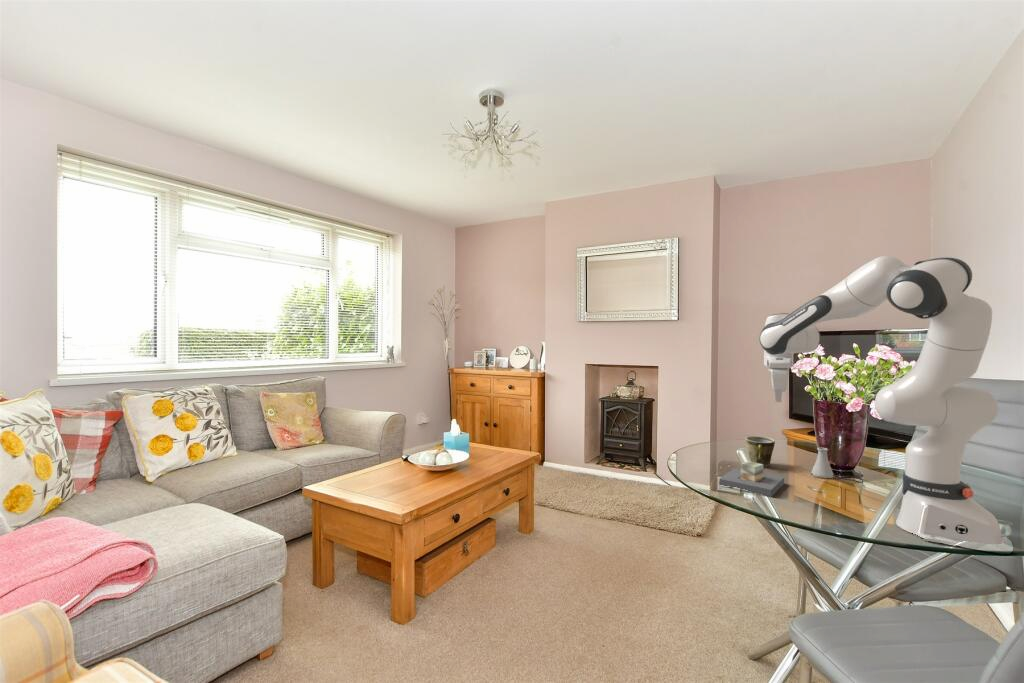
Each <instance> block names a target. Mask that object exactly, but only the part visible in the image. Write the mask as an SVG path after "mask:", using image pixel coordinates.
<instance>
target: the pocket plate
mask: <svg viewBox="0 0 1024 683" xmlns="http://www.w3.org/2000/svg"><path fill="white" fill-rule="evenodd" d="M718 485H724V486H730V487H737V488H740V489H745V490H748V491H751V492H754V493H759V494H762V495H761V496H763V495H764V496H763V497H769V498H772V497H773V496H774V495H775V494H776V493H777V492H778V491H779V490H780V489H781V488H782V487H783V486H784V485H785V477H784V476H780V475H775V474H771V473H765V472H763V481H762V482H761V483H758V482H753V481H748V480H744V479H741V467H734V468H732V469H731V470H729V471H728V472H727V473H725V474H724V475H723V476H721V477H720V478H719V484H718ZM754 493H753V494H754ZM759 494H758V495H759Z"/></svg>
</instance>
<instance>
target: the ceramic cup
mask: <svg viewBox="0 0 1024 683" xmlns="http://www.w3.org/2000/svg"><path fill="white" fill-rule="evenodd" d="M745 440H746V448H747V451H748V457H749V461H752V462H755V463H759V464H763V469H764V468H769V467H770V465H771V461H772V455H773V452H774V448H775V443H776V441H775V439H773V438H770V437H766V436H753V435H752V436H751V435H750V436H747V437H745Z"/></svg>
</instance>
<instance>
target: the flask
mask: <svg viewBox="0 0 1024 683" xmlns="http://www.w3.org/2000/svg"><path fill="white" fill-rule="evenodd" d="M816 449H817V451H818V452H817V458H816V461H815V462H814V465H813V467H812V469H811V472H810V474H811V473H812V474H813V475H812V477H814V476H815V477H816V478H819V479H827V478H832V477H833V475H834V471H833V470H832V467H831V464H830V461H829V458H828V451H829V448H827V447H817V448H816ZM834 476H835V475H834ZM815 477H814V478H815ZM832 479H833V478H832Z"/></svg>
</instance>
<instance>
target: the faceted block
mask: <svg viewBox="0 0 1024 683" xmlns="http://www.w3.org/2000/svg"><path fill="white" fill-rule="evenodd" d="M740 469H741V479H744V480H748V481H753V482H758V483H761V482H762V481H763V473H764V468H763V464H759V463H755V462H752V461H750V460H748V461H744V462H740Z"/></svg>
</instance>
